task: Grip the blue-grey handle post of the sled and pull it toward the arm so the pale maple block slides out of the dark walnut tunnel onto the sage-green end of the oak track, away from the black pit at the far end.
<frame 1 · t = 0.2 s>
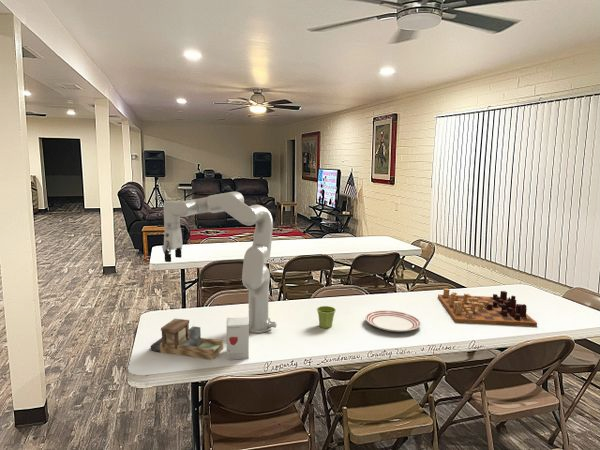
hand: (173, 259, 213), 31 cm above the table, fingers open, 9 cm apart
sled: (183, 335, 182), point 7 cm above the table, slide at 0.0 cm
plant pot: (325, 326, 211), on the table
gameboard: (482, 312, 237), on the table
supplement box: (237, 355, 179), on the table
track: (187, 350, 182), on the table
dinner plate: (392, 325, 215), on the table
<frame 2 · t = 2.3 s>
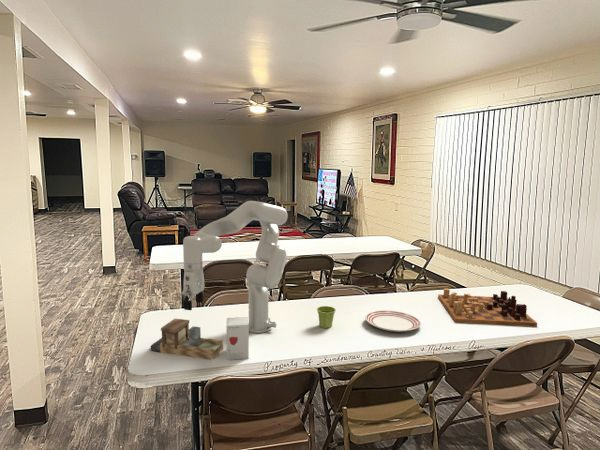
hand: (193, 305, 178), 20 cm above the table, fingers open, 9 cm apart
nothing on the table moved.
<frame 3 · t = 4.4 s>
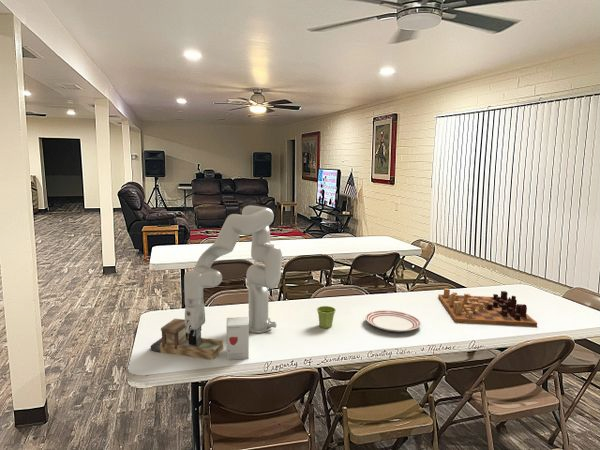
hand: (195, 341, 181), 4 cm above the table, fingers closed on sled, 3 cm apart
sled: (183, 335, 182), point 7 cm above the table, slide at 0.0 cm, touching gripper
everything else where it was.
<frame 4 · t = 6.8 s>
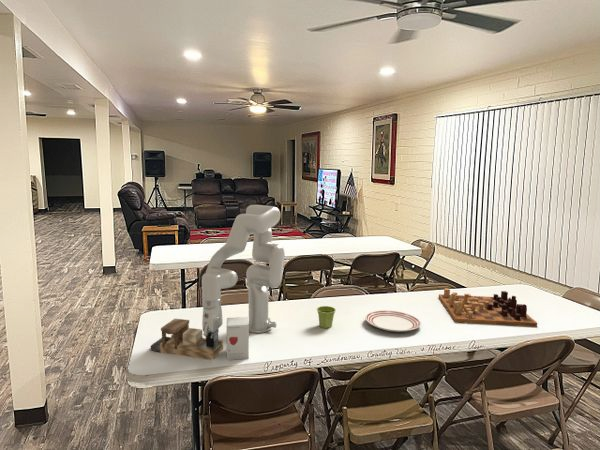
hand: (212, 344, 179), 4 cm above the table, fingers closed on sled, 3 cm apart
sled: (201, 337, 180), point 7 cm above the table, slide at 8.0 cm, touching gripper
everything else where it was.
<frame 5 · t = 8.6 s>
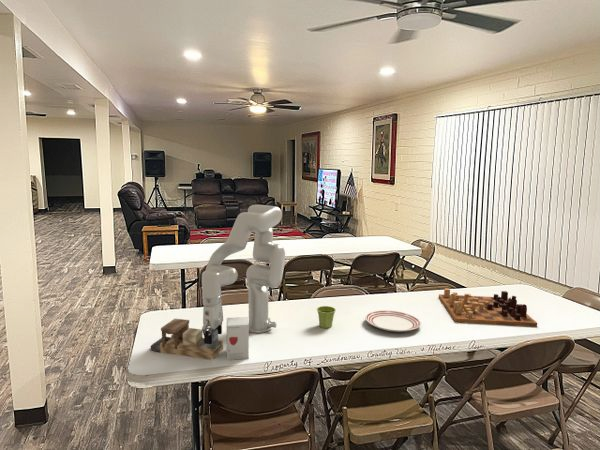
hand: (213, 338, 179), 6 cm above the table, fingers open, 9 cm apart
sled: (201, 337, 180), point 7 cm above the table, slide at 8.0 cm
everything else where it was.
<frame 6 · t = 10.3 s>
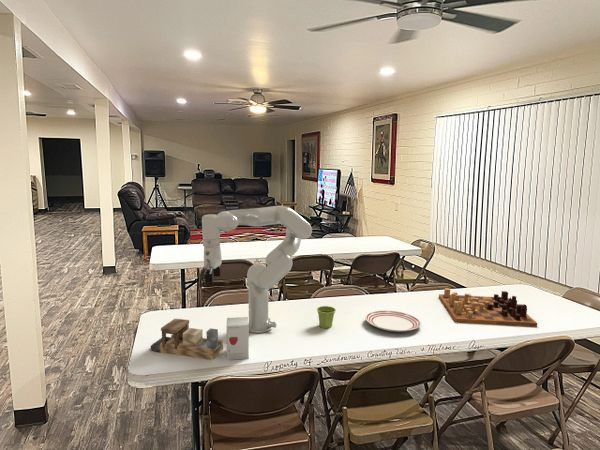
hand: (213, 279, 193), 27 cm above the table, fingers open, 9 cm apart
nothing on the table moved.
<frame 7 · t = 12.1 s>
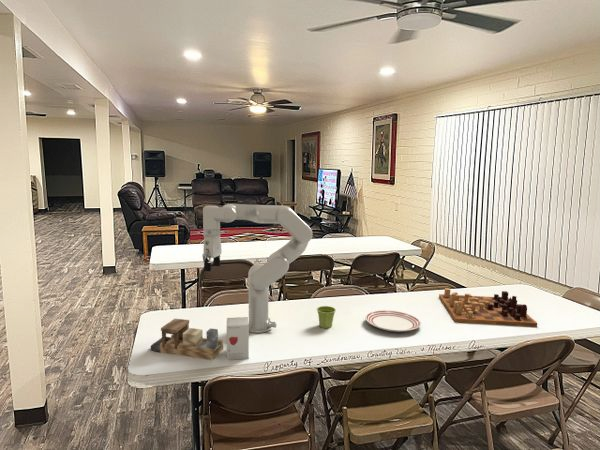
hand: (212, 268, 200), 30 cm above the table, fingers open, 9 cm apart
nothing on the table moved.
at the end: sled slide at 8.0 cm; the gripper is holding nothing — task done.
